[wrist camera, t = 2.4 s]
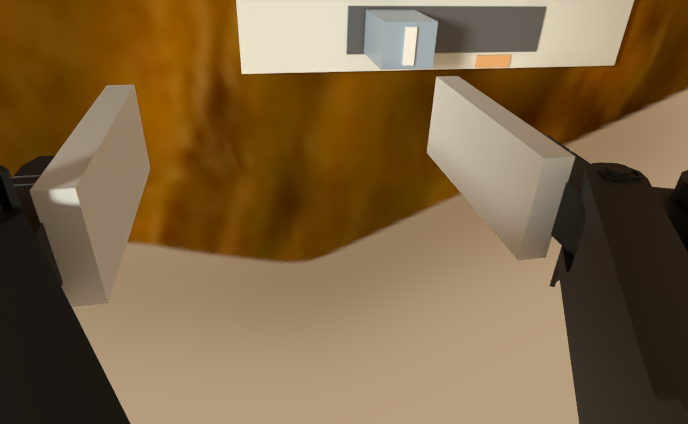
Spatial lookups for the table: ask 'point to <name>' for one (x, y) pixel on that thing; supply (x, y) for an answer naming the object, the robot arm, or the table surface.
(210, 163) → the table surface
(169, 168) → the table surface
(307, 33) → the switch board
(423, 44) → the tab
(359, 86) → the table surface
